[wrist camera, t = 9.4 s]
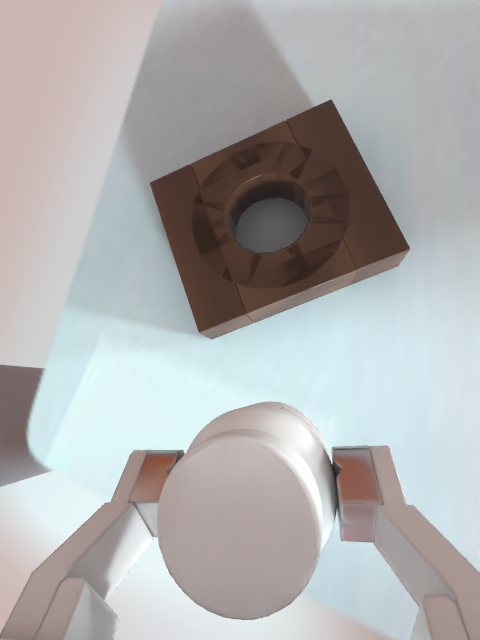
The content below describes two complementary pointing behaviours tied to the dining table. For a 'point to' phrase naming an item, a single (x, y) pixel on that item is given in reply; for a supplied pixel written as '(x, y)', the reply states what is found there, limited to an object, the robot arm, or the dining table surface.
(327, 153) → the socket pad
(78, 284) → the dining table surface
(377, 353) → the dining table surface
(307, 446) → the pill bottle
